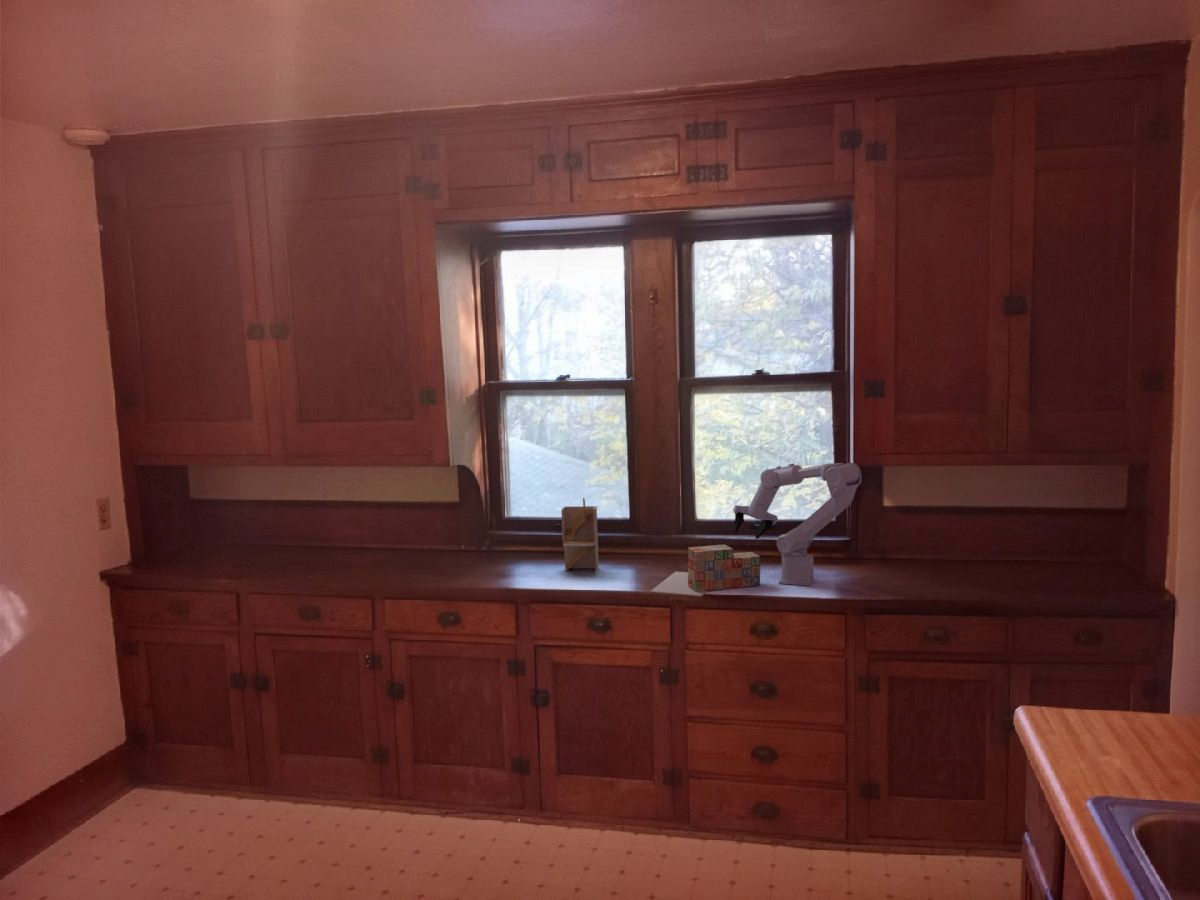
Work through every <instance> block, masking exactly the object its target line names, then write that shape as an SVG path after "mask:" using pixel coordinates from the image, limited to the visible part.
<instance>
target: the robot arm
mask: <svg viewBox="0 0 1200 900" xmlns="http://www.w3.org/2000/svg"><path fill="white" fill-rule="evenodd" d="M820 477H821V479H822V481H824V482H826V485H827V488H828V492H829V495H830V498H829V499H828V500H827V501H825V503H823V504H822V505H820V507H819V508H818V509H816V510H815V511H814V512H813V513H812V514H811V515H809V516H808V517H807V518H806V519H805V520H804V521H803V522H802V523H800V524H799V525H798V526H797V527H794V528H792V529H791V530H789V531H788V532H787V533H783V534H780V535H779V536H778V537H777V539H776V547H777V549H778V551H779V553H780V555H781V578H780V579H779V581H778V584H780V583H781V584H782V585H793V586H795V585H796V586H805V587H806V586H811V585H812V583H813V581H814V579H815V578H814V556H813V554H808V553H807V552H808V551H807V549H809V547H810V545H811V543H812V541H813V540H814V539H815V535H817V533H819V532H820V531H821V530H823V529H824V528H825V527H826V526H827V525H828V524H829V523H830V522H832V521H833V520H834V519H835V518H836V517H837V516H839V515H840V514H841V513H842V512H844V510H846V509H847V508H848V507H850V506H851V504H852V502H853V501H854V498H855V494H856V492H857V489H858V487H859V486H860V484H862V483H863V482H862V471H861V469H860V467H859V465H857V464H856V463H854V462H846V463H843V462H838V463H837V462H836V463H835V462H834V463H825V464H821V465H814V466H809V467H804V468H802V467H801V465H799V464H795V463H790V464H788V465H787V466H784V467H783V466H781V465H779V466H776V467H775V468H769V469H768V468H767V469H765V470H763V471H762V473H760V484H759V486H758V488H757V490H756V492H755V494H754V496H753V498H752V501H751V502H750V504H749V505H737V504H736V505H734V507H733V509H732V510H733V513H734V525H733V529H732V530H733V533H734V534H737V533H738V532H739V530H740V528H741V525H743V523H744V522H745V518H744V517H745V516H749V517H751V518H753V519H755V520H759V521H760V523H759V525H758V528H757V529H756V532H755V534H754V537H755V539H756V540H758V539H760V538H761V536H762V535H763V534H765V532H767V531H768V530H770V529H772V528H773V524H777V522H778V520H779V518H778V516H777V515H776V514H773V513H770V512H769V511H768V510H769V509H770V507H771V505H772V503H773V500H774V499H775V497H776V496H777V493H778V491H780V490H779V489H780V488H781V487H784V486H791V485H798V484H801V483H802V482H803V481H804V479H812V478H820Z"/></svg>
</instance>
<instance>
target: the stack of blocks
mask: <svg viewBox="0 0 1200 900" xmlns="http://www.w3.org/2000/svg"><path fill="white" fill-rule="evenodd" d="M687 548H688V549H687V550H688V551H687V556H688V557H687V572H688V586H689V587H690V588H691V589H693V590H694V591H707V590H708V591H715V590H716V591H717V590H724V589H734V588H745V587H756V586H758V587H759V586H760V585H761V555H759V554H756V553H754V552H753V551H748V552H746V551H745V552H734V548H732V547H730V546H728V545H727V544H714V545H705V546H704V545H703V546H691V547H687ZM708 591H707V592H708Z"/></svg>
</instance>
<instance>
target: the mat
mask: <svg viewBox="0 0 1200 900" xmlns="http://www.w3.org/2000/svg"><path fill="white" fill-rule="evenodd" d="M707 592H709V590H707V591H694V590H693V589H691V588H690V587H689V586H688V571H687V572H685V571H674V572H673V573H672V574H671V575H668V577H667V578H664V580H663V581H661V582H660V583H659V584H657V585H656V586H655V587H654V588H652V589H651V590H650V593H653V594H654V593H655V594H665V595H666V594H667V595H679V596H688V597H698V598H699V597H701V598H702V597H704V595H705V594H706V593H707Z"/></svg>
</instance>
